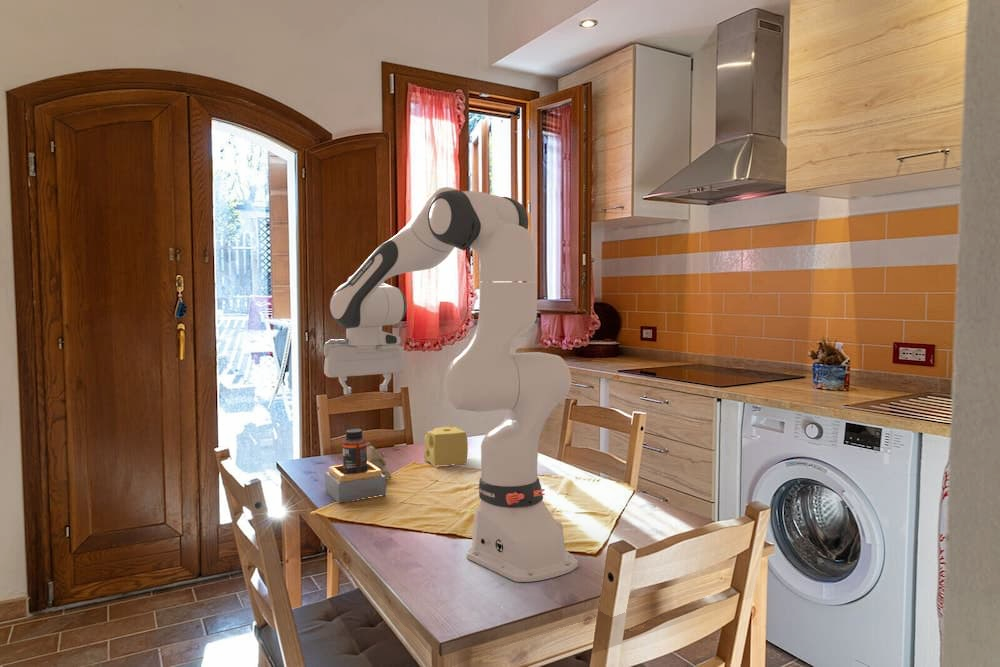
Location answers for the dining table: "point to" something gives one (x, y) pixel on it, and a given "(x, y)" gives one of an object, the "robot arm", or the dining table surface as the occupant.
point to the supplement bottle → (354, 452)
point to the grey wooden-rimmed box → (355, 483)
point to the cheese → (446, 446)
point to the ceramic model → (376, 459)
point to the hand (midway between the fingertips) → (365, 392)
